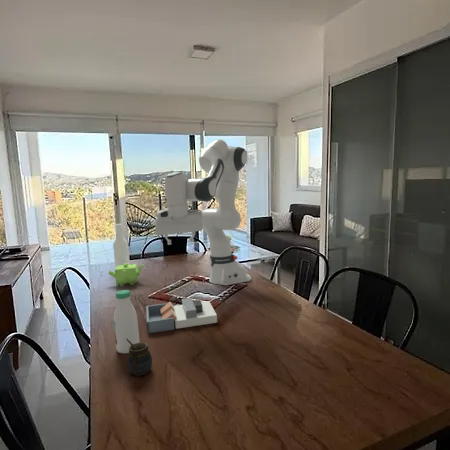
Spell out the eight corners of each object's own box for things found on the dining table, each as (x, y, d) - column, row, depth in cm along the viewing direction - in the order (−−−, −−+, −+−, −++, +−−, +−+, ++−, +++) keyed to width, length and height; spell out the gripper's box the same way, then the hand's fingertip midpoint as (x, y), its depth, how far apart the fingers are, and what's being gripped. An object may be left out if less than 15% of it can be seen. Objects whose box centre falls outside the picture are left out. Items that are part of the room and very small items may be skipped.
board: (209, 307, 150) (209, 301, 150) (217, 322, 135) (216, 315, 135) (172, 312, 147) (171, 306, 146) (175, 328, 131) (175, 321, 131)
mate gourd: (147, 379, 99) (144, 346, 98) (123, 378, 101) (119, 345, 99) (157, 365, 106) (153, 334, 105) (133, 364, 108) (130, 334, 106)
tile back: (173, 305, 145) (170, 301, 145) (174, 310, 141) (171, 305, 140) (163, 313, 145) (160, 309, 144) (164, 318, 140) (160, 313, 139)
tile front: (175, 313, 137) (171, 308, 137) (176, 318, 132) (172, 313, 132) (165, 321, 137) (161, 316, 136) (166, 326, 132) (162, 321, 131)
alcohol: (112, 272, 218) (108, 224, 213) (124, 268, 225) (119, 222, 221) (122, 273, 213) (117, 225, 208) (133, 270, 220) (128, 223, 216)
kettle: (146, 281, 194) (145, 262, 192) (127, 289, 182) (124, 268, 181) (128, 278, 202) (126, 259, 201) (108, 285, 190) (106, 265, 189)
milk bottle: (144, 345, 120) (139, 289, 117) (129, 355, 113) (123, 296, 110) (127, 341, 123) (121, 287, 120) (111, 352, 116) (105, 294, 113)
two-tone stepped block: (182, 305, 146) (198, 303, 148) (186, 318, 133) (204, 316, 134) (181, 298, 146) (198, 296, 147) (185, 311, 132) (204, 308, 134)
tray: (170, 312, 147) (169, 302, 147) (174, 329, 131) (173, 318, 130) (147, 316, 145) (146, 305, 144) (147, 333, 129) (146, 322, 128)
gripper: (200, 208, 152) (203, 239, 154) (153, 212, 148) (156, 244, 150) (203, 209, 146) (205, 241, 148) (153, 214, 142) (157, 247, 144)
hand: (180, 243), depth 149 cm, fingers open, 8 cm apart
